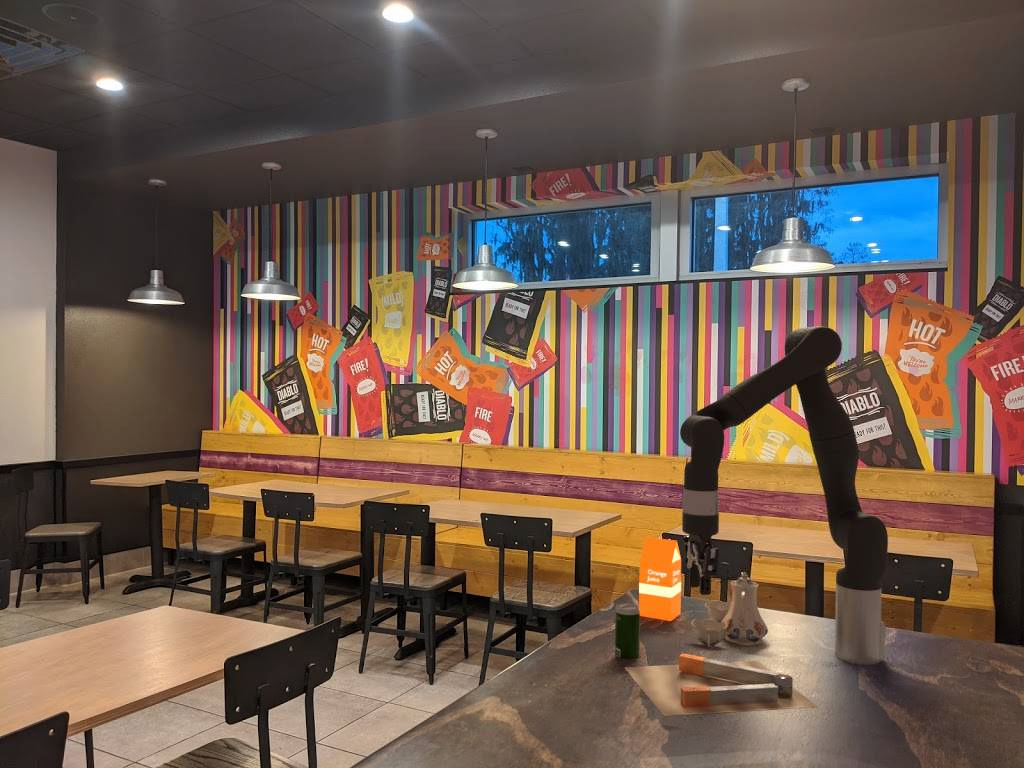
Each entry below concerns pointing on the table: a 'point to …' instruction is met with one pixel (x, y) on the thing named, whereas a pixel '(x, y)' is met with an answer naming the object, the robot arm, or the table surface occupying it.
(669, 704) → the cutting board
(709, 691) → the tong fixed arm
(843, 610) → the robot arm
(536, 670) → the table surface
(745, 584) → the chinaware
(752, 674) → the tong free arm
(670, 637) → the table surface
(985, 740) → the table surface
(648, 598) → the orange juice
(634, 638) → the beer can
